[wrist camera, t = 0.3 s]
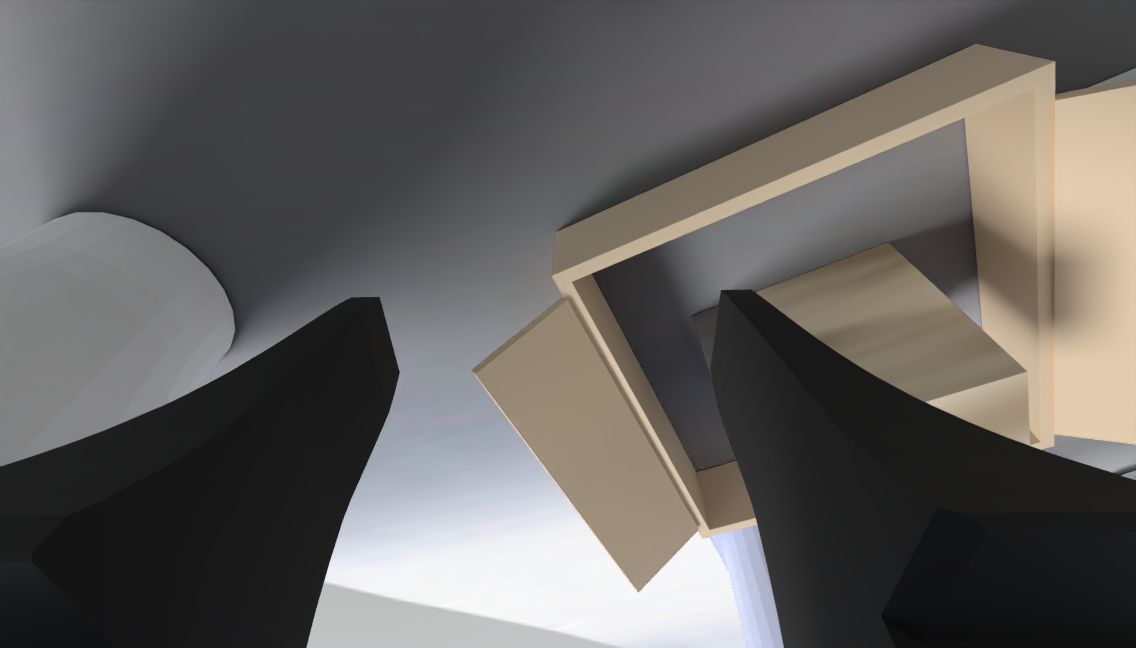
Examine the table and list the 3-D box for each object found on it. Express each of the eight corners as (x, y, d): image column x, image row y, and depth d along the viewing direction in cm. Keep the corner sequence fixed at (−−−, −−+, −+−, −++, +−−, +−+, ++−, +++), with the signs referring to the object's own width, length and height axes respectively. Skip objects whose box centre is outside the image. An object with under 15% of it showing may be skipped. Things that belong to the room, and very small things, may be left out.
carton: (1083, 365, 24) (1211, 469, 19) (631, 498, 30) (641, 604, 25) (1098, -12, 16) (1321, 2, 11) (481, 265, 22) (452, 354, 17)
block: (902, 319, 23) (1030, 464, 17) (720, 381, 25) (769, 531, 19) (888, 242, 21) (1027, 371, 15) (691, 315, 23) (736, 458, 17)
